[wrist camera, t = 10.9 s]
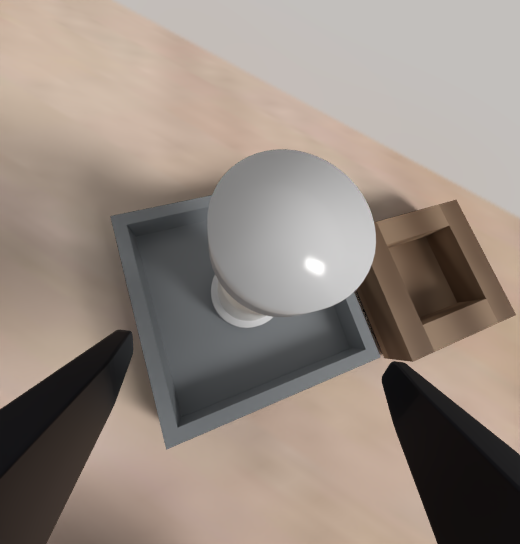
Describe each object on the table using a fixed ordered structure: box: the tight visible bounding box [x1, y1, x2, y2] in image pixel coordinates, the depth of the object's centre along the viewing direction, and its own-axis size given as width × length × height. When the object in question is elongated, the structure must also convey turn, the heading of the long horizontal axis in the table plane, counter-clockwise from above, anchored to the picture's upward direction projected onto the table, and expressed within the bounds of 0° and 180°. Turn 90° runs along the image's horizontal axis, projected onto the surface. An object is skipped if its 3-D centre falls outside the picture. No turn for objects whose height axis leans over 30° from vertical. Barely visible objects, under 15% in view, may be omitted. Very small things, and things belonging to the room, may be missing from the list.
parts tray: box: [110, 195, 380, 450], centre depth 18 cm, size 14×14×3 cm
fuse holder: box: [356, 200, 516, 362], centre depth 21 cm, size 10×10×3 cm
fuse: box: [207, 149, 376, 328], centre depth 13 cm, size 5×5×12 cm
